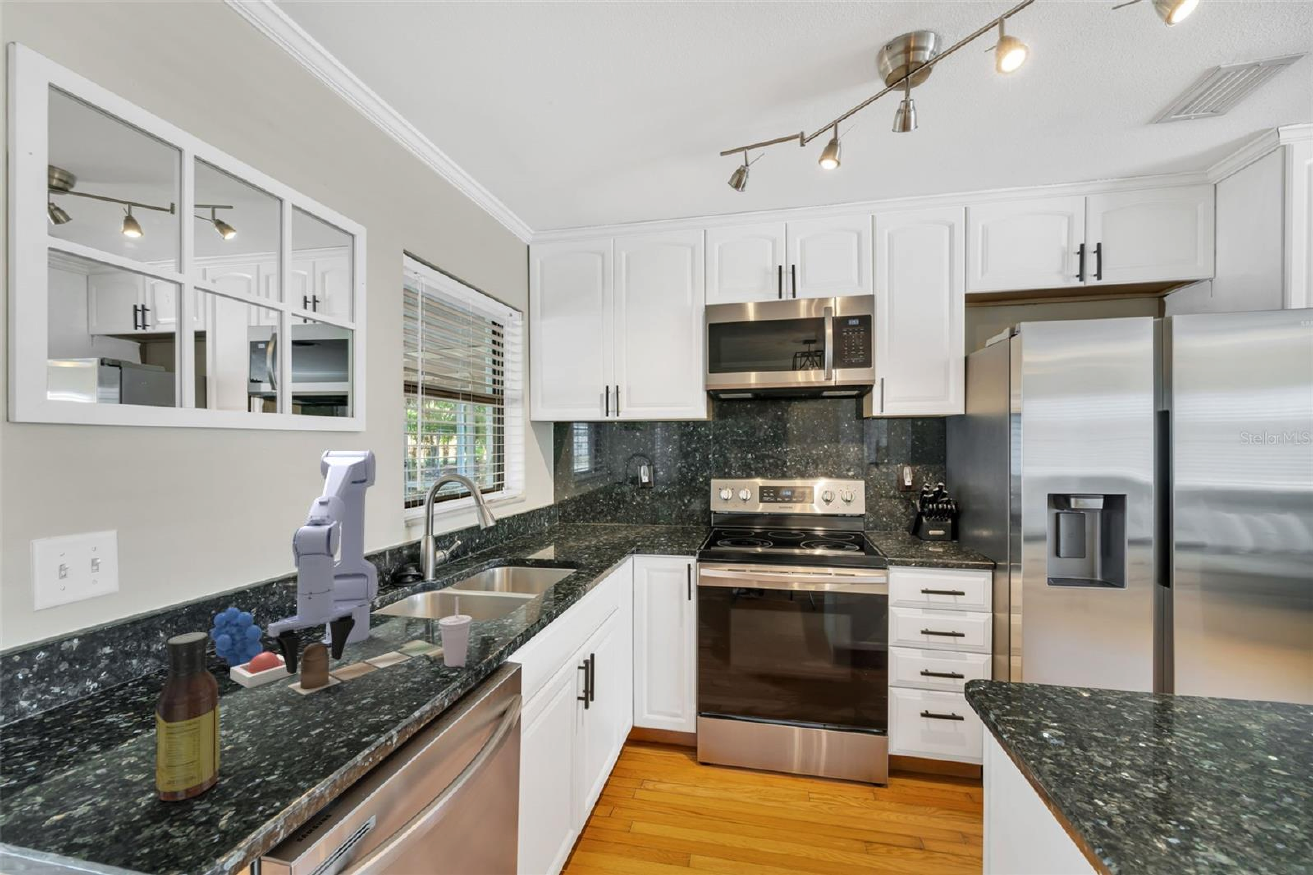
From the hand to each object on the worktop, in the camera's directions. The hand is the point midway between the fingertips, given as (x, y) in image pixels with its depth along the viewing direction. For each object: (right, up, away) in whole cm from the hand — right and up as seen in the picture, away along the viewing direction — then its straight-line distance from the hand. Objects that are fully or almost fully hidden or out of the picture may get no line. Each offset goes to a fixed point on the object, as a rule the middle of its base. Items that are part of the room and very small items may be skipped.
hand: (314, 665), depth 100 cm
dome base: (-12, -5, +4) cm, 13 cm away
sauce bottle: (+2, -4, -30) cm, 30 cm away
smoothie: (+22, -5, +10) cm, 25 cm away
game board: (+6, -5, +9) cm, 11 cm away
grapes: (-23, -5, +9) cm, 25 cm away
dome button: (-12, -4, +4) cm, 13 cm away
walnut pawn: (0, -3, 0) cm, 3 cm away
